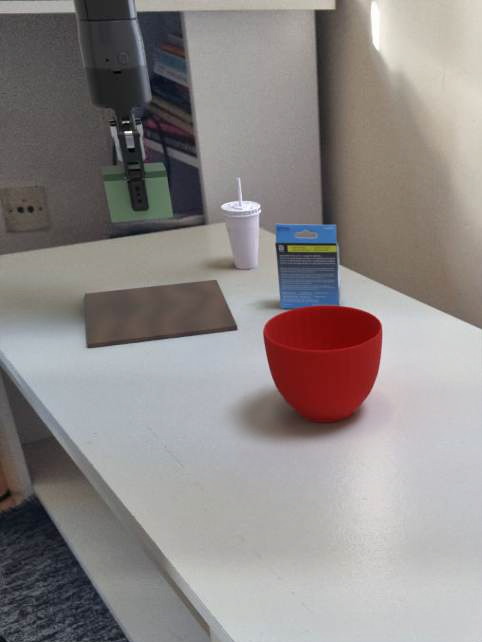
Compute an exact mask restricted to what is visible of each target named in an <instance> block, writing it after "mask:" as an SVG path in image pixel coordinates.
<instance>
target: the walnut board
mask: <svg viewBox="0 0 482 642" xmlns="http://www.w3.org/2000/svg"><path fill="white" fill-rule="evenodd" d="M84 302H85V303H84V307H85V321H86V322H85V324H86V325H85V326H86V344H87V348H88V349H91V348H99V347H107V346H115V345H124V344H131V343H132V344H133V343H140V342H147V341H148V342H149V341H156V340H157V341H158V340H163V339H173V338H182V337H190V336H198V335H204V334H213V333H223V332H229V331H237V330H239V329H238V325H237V322H236V320H235V318H234V315H233V313H232V311H231V309H230V307H229V305H228V302H227V299H226V297H225V295H224V293H223V291H222V289H221V286H220V285H219V281H218V280H217V279H210V280H200V281H199V280H197V281H190V282H180V283H171V284H162V285H161V284H160V285H152V286H143V287H142V286H141V287H134V288H126V289H125V288H124V289H115V290H105V291H96V292H95V291H94V292H88V293H84Z"/></svg>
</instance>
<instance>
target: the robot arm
mask: <svg viewBox="0 0 482 642" xmlns="http://www.w3.org/2000/svg"><path fill="white" fill-rule="evenodd" d="M72 3H73V7H74V13H75V18H76V25H77V36H78V37H77V38H78V45H79V49H80V57H81V60H82V61H81V62H82V66H83V72H84V76H85V82H86V86H87V91H88V97H89V102H90V104H91V105H93V107H96V108H100V109H112V110H113V114H112V115H113V116H112V119H109V120H108V124H109V129H110V135H111V138H112V139H113V140H114V145H115V146H114V147H115V152H116V155H117V161H118V162H119V163H120V165H123V166H124V172H125V173H124V178H125V179H126V182H127V184H128V189H129V195H130V201H131V206H132V209H133V211H136V212H137V211H147V210H148V209H149V203H148V197H147V191H146V185H145V180H146V179H145V178H146V171H145V170H144V164H145V163H144V162H145V160H146V151H145V145H144V140H143V139H144V128H143V123H142V121H141V118H140V117H139V118H135V114H134V109H135V108H137V107H144V106H147V105H150V104H151V102H152V100H153V97H152V90H151V84H150V77H149V71H148V64H147V58H146V52H145V51H146V50H145V44H144V39H143V35H142V31H141V28H140V27H141V26H140V24H139V19H138V14H137V13H138V12H137V7H136V0H72ZM132 164H139V167H140V168H136V169H129V170H128V165H132Z"/></svg>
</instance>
